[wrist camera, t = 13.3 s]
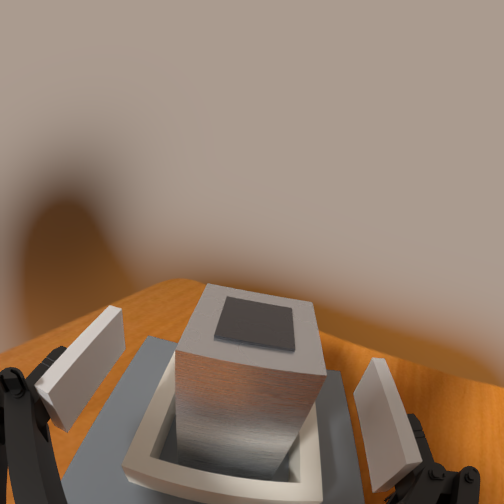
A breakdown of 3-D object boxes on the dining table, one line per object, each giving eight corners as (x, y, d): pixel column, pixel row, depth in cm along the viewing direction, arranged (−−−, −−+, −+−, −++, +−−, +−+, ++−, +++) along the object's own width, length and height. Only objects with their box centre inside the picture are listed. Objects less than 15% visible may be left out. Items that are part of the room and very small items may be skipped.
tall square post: (273, 416, 18) (312, 299, 15) (270, 480, 13) (328, 372, 9) (196, 402, 18) (208, 280, 15) (178, 464, 13) (175, 346, 10)
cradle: (336, 378, 24) (349, 350, 23) (362, 558, 7) (393, 547, 6) (148, 343, 25) (147, 313, 23) (57, 504, 8) (33, 483, 7)
